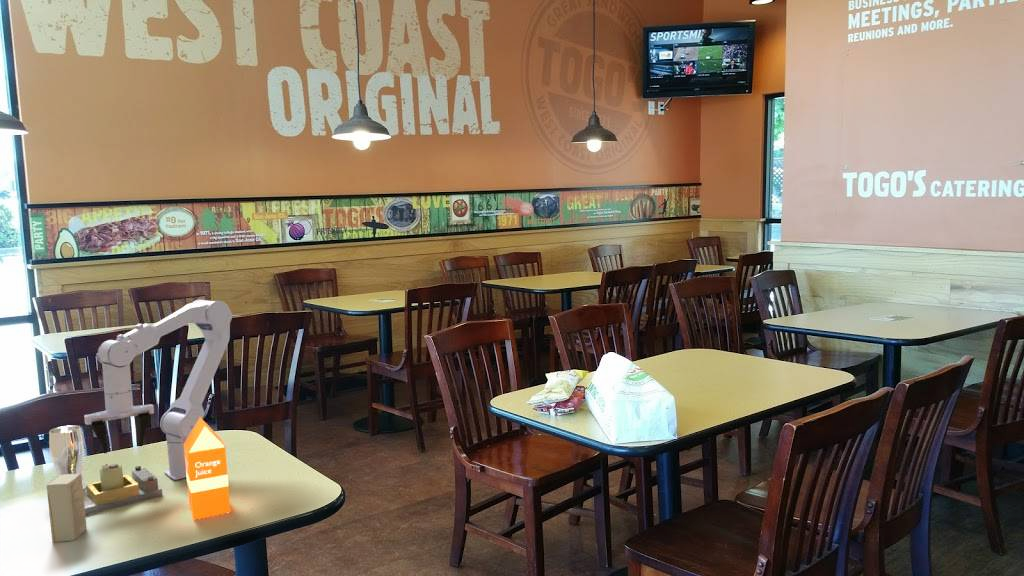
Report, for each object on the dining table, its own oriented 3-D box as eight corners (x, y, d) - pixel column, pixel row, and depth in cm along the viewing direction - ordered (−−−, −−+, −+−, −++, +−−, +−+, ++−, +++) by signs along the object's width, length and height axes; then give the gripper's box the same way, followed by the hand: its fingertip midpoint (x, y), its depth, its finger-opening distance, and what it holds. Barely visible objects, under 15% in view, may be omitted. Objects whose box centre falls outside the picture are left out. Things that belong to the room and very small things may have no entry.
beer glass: (73, 496, 186) (66, 433, 185) (47, 495, 188) (40, 433, 186) (94, 485, 193) (88, 425, 191) (69, 484, 195) (63, 424, 193)
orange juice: (192, 520, 169) (184, 428, 167) (188, 507, 177) (180, 419, 175) (231, 512, 173) (224, 422, 170) (225, 499, 180) (218, 413, 178)
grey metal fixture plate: (147, 482, 194) (145, 464, 193) (162, 495, 185) (160, 476, 184) (64, 502, 182) (62, 483, 182) (75, 517, 173) (73, 497, 173)
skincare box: (66, 530, 167) (59, 473, 165) (88, 528, 167) (82, 472, 166) (51, 543, 160) (44, 484, 159) (74, 541, 161) (68, 483, 159)
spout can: (120, 488, 186) (117, 458, 185) (127, 492, 183) (124, 463, 182) (99, 493, 183) (96, 464, 182) (106, 498, 180) (103, 468, 179)
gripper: (87, 399, 178) (92, 459, 179) (156, 389, 187) (160, 445, 188) (80, 394, 183) (85, 452, 185) (147, 384, 192) (151, 439, 194)
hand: (122, 448), depth 187 cm, fingers open, 7 cm apart
